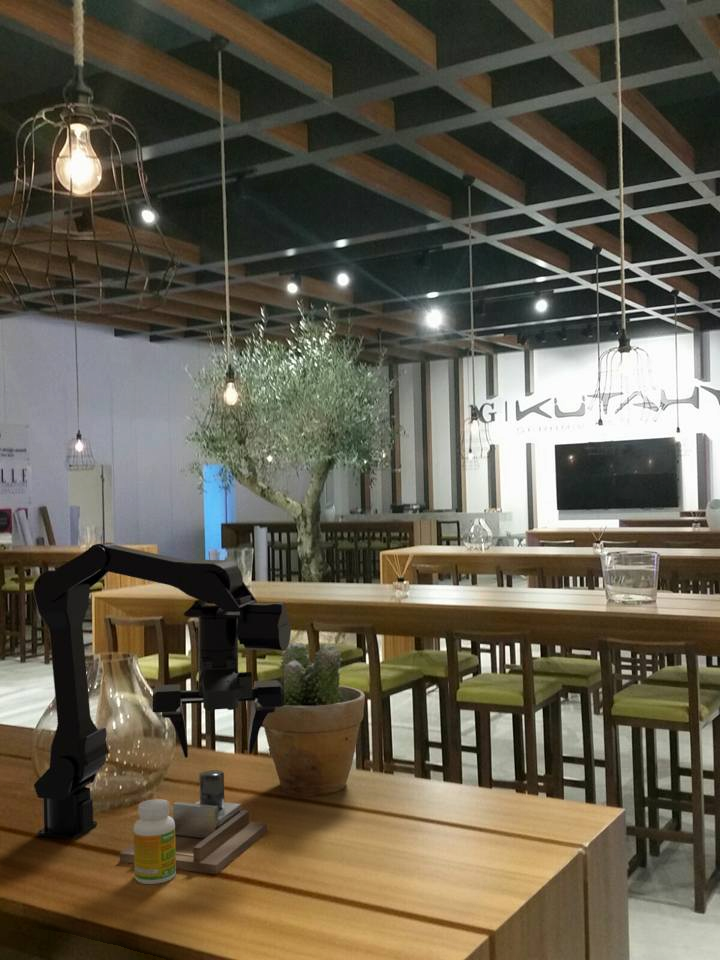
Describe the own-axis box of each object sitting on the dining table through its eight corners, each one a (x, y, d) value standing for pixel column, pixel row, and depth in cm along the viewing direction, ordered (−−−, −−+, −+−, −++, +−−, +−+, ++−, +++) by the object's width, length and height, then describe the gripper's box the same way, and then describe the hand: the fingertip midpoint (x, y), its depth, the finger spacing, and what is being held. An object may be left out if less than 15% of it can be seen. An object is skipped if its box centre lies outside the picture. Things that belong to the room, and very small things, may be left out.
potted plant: (237, 791, 161) (233, 643, 161) (305, 763, 176) (301, 628, 176) (324, 810, 150) (320, 652, 150) (388, 779, 165) (384, 635, 165)
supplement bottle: (166, 886, 123) (164, 811, 123) (127, 884, 124) (125, 809, 124) (182, 869, 128) (180, 797, 128) (145, 867, 129) (143, 796, 129)
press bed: (119, 861, 132) (119, 840, 132) (178, 821, 147) (178, 802, 147) (216, 874, 127) (216, 851, 127) (267, 831, 142) (266, 811, 142)
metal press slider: (172, 834, 137) (171, 783, 137) (200, 815, 145) (199, 767, 145) (216, 839, 135) (215, 787, 135) (241, 820, 143) (240, 770, 143)
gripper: (151, 660, 129) (152, 776, 129) (289, 655, 132) (289, 767, 132) (153, 646, 139) (153, 752, 140) (279, 642, 143) (279, 745, 143)
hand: (218, 755), depth 138 cm, fingers open, 9 cm apart
